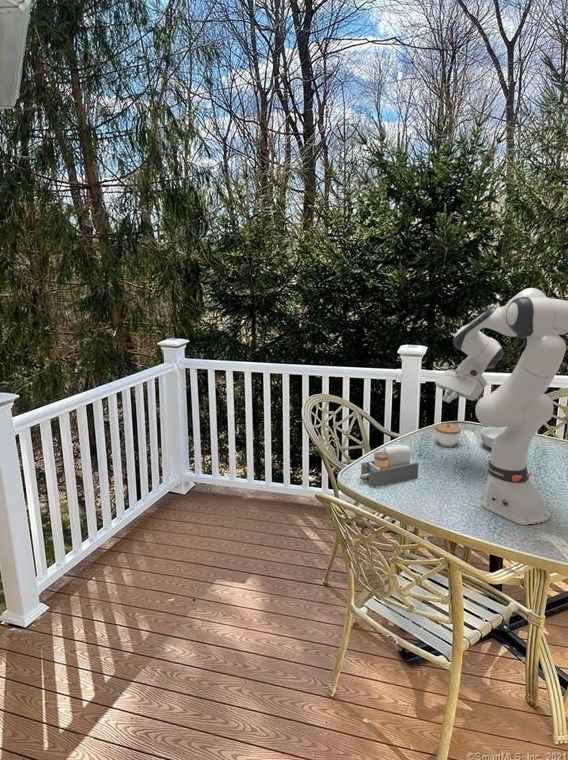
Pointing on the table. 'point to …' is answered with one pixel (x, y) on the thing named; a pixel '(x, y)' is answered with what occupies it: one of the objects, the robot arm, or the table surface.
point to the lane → (390, 474)
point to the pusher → (369, 470)
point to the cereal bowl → (490, 434)
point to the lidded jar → (447, 434)
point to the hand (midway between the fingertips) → (445, 401)
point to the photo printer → (398, 455)
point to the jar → (381, 460)
